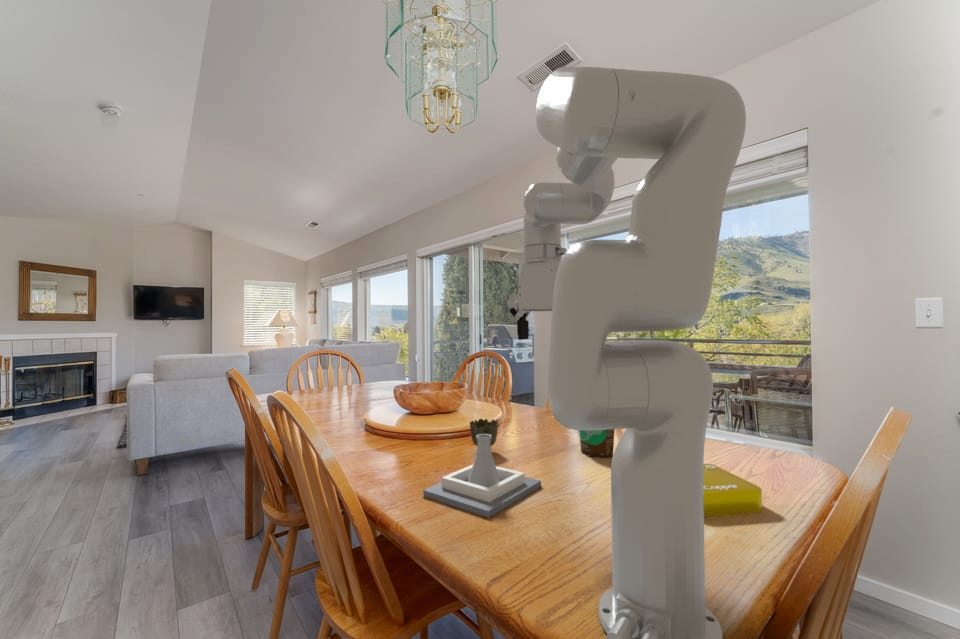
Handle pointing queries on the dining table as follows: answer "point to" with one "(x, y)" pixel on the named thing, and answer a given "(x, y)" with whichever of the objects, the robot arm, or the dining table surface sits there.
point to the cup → (484, 429)
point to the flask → (484, 464)
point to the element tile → (729, 493)
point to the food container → (597, 442)
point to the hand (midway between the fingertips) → (543, 339)
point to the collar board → (482, 491)
